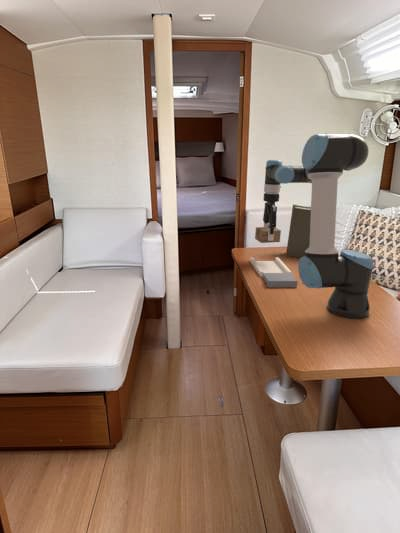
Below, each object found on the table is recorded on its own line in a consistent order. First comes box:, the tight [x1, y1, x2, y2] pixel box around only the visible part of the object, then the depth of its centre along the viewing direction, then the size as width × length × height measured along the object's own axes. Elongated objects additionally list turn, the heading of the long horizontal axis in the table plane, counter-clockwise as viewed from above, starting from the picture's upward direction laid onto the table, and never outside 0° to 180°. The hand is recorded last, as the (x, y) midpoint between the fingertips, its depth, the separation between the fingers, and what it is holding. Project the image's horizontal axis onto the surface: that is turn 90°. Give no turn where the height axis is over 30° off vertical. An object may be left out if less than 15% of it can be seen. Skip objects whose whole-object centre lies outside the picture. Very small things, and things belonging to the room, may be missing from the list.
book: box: [286, 204, 311, 259], centre depth 200 cm, size 22×9×28 cm, turn 79°
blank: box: [254, 226, 282, 244], centre depth 185 cm, size 8×10×6 cm
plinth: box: [262, 273, 298, 288], centre depth 166 cm, size 10×13×3 cm
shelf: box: [249, 256, 293, 277], centre depth 182 cm, size 22×15×3 cm
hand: (268, 238), depth 186 cm, fingers closed on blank, 9 cm apart
